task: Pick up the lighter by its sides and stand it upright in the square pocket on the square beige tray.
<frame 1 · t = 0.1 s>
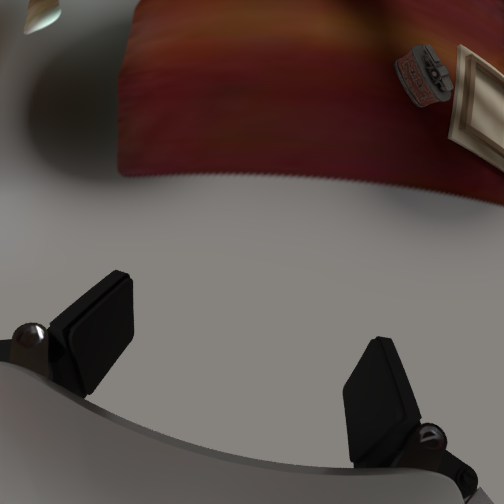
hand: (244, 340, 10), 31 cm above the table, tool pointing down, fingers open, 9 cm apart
lighter: (410, 83, 30), on the table
square beige tray: (488, 110, 28), on the table
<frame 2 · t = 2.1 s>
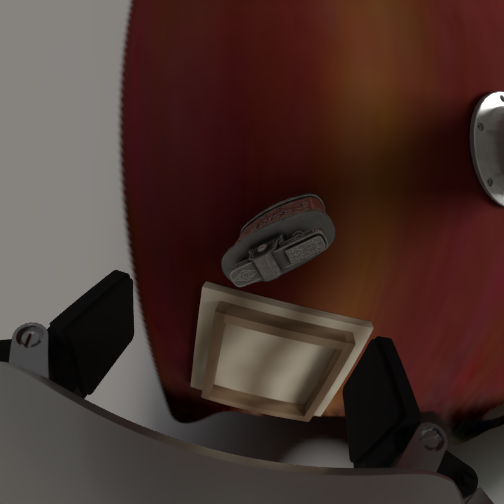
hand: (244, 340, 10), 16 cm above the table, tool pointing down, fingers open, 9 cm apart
lighter: (282, 220, 25), on the table
square beige tray: (272, 358, 31), on the table
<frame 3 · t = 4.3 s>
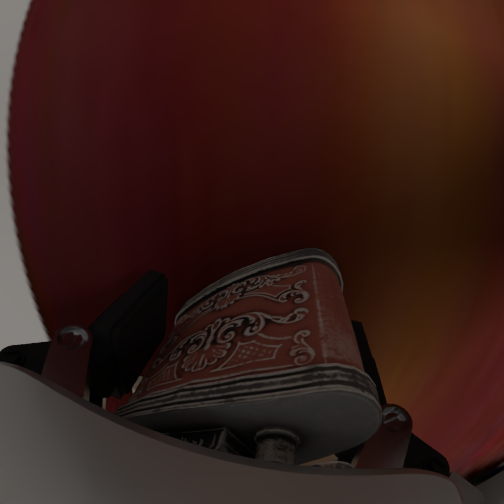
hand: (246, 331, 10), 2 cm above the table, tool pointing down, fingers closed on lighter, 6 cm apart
lighter: (255, 299, 13), on the table, touching gripper
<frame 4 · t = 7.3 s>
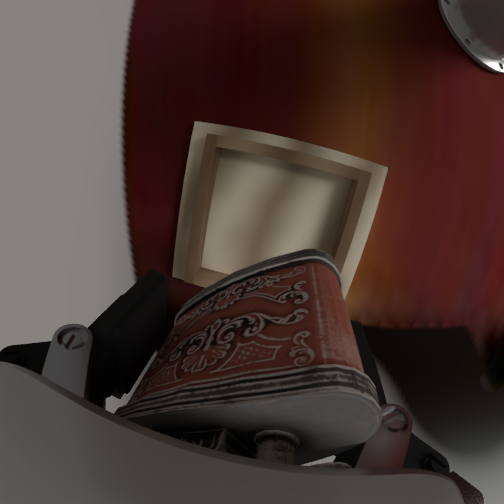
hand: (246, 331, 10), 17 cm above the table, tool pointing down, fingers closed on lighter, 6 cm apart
lighter: (254, 299, 13), point 15 cm above the table, touching gripper
square beige tray: (273, 221, 27), on the table
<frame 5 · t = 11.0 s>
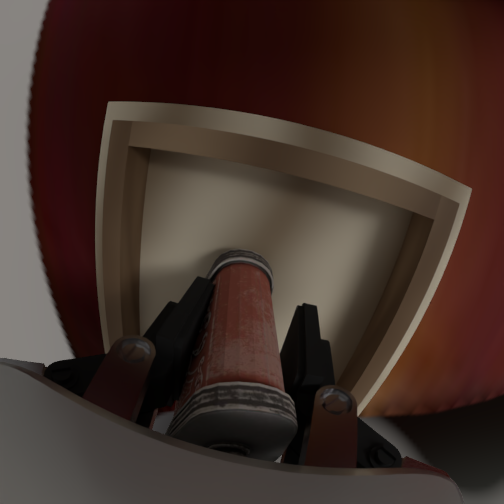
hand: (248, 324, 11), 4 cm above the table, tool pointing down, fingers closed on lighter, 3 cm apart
lighter: (224, 317, 14), point 1 cm above the table, touching gripper
square beige tray: (257, 285, 14), on the table
when the fingers open (4 cm above the table, at t = 11.0 s): lighter stays where it is, resting on square beige tray.
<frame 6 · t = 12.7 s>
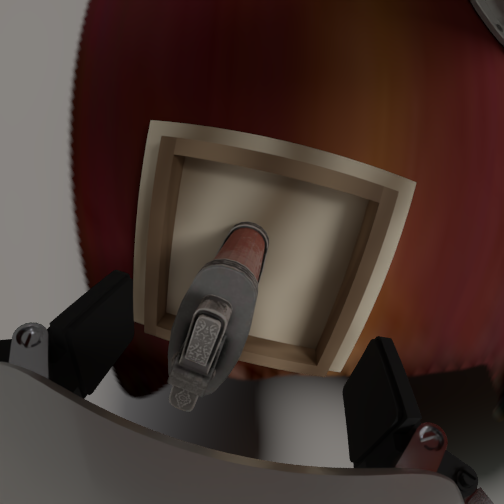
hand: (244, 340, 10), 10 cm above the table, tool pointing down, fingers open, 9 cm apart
lighter: (235, 275, 19), point 1 cm above the table, touching square beige tray
square beige tray: (258, 255, 20), on the table
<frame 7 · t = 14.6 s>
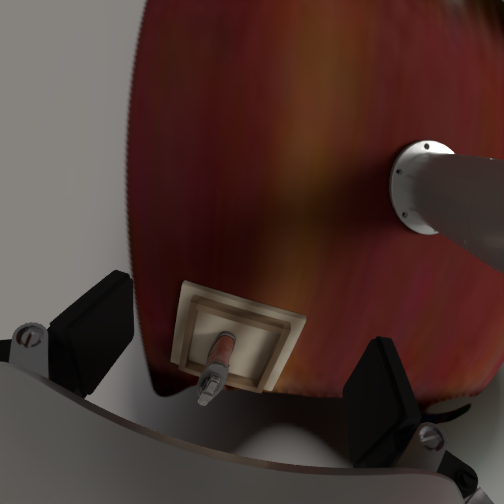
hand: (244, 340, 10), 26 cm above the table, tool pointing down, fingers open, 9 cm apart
lighter: (221, 348, 41), point 1 cm above the table, touching square beige tray
square beige tray: (232, 340, 42), on the table
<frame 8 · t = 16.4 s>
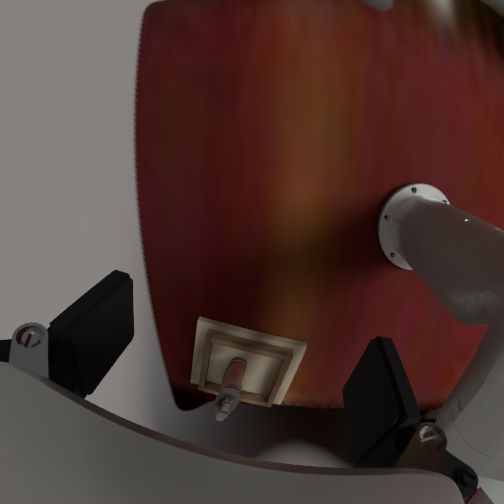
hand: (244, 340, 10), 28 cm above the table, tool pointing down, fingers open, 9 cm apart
lighter: (234, 371, 46), point 1 cm above the table, touching square beige tray
square beige tray: (243, 363, 47), on the table
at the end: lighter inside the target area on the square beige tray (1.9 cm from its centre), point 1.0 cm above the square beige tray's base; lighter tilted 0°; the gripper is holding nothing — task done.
